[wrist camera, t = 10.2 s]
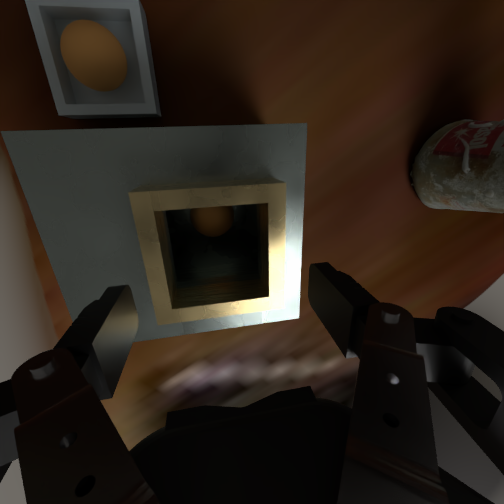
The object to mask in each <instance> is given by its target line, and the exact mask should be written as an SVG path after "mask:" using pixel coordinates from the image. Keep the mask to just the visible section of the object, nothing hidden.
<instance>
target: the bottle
mask: <svg viewBox="0 0 504 504" xmlns="http://www.w3.org/2000/svg"><path fill="white" fill-rule="evenodd" d="M412 166H413V169H412V171H411V173H410V175H411V176H412V179H413V183H412V184H411V185H413V186H414V188H415V191H416V193H417V195H418V197H419V198H420V200H421V201H422V203H423V204H425V205H426V206H428V207H430V208H436V209H454V210H471V211H483V212H496V213H504V120H502V121H500V122H497V121H478V120H466V119H465V120H461V121H457V122H453V123H450V124H448V125H446V126H444V127H442V128H441V129H439V130H438V131H437V132H435V133H434V134H433V135H432V136H431V137H430V138H429V139H428V140H427V141H426V142H425V143H424V145H423V146H422V148H421V149H420V151H419V153H418V154H417V155H416V156H415V162H414V164H412Z"/></svg>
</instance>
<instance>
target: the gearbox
mask: <svg viewBox="0 0 504 504" xmlns="http://www.w3.org/2000/svg"><path fill="white" fill-rule="evenodd" d="M1 134H2V136H3V139H4V141H5V144H6V147H7V149H8V152H9V155H10V157H11V160H12V163H13V165H14V168H15V170H16V173H17V176H18V178H19V181H20V184H21V186H22V189H23V192H24V194H25V197H26V199H27V202H28V205H29V207H30V210H31V213H32V215H33V218H34V221H35V223H36V226H37V228H38V231H39V234H40V236H41V239H42V242H43V244H44V247H45V250H46V252H47V255H48V257H49V260H50V263H51V265H52V268H53V271H54V273H55V276H56V279H57V281H58V284H59V286H60V289H61V292H62V294H63V297H64V300H65V302H66V305H67V308H68V310H69V313H70V315H71V318H72V321H73V322H74V320H75V319H76V318H77V316H78V315H79V314H80V313H81V311H82V310H83V309H84V308H85V307H86V306H87V305H89V304H90V303H92V302H93V301H94V300H99V299H100V297H101V296H102V294H103V293H104V292H105V290H106V289H107V288H108V287H110V286H119V285H129V286H130V288H131V291H132V295H133V299H134V302H135V306H136V310H137V314H138V330H137V333H136V335H135V338H134V341H133V342H137V341H144V340H151V339H158V338H165V337H172V336H179V335H185V334H192V333H199V332H206V331H213V330H220V329H227V328H234V327H240V326H247V325H254V324H261V323H268V322H275V321H282V320H289V319H295V318H299V302H300V279H301V255H302V232H303V209H304V186H305V162H306V139H307V123H298V124H260V125H222V126H184V127H146V128H108V129H70V130H31V131H1ZM231 205H232V208H233V211H234V220H233V223H232V226H231V227H230V229H229V230H228V231H227V232H226V233H224V234H223V235H220V236H217V237H209V236H205V235H203V234H201V233H199V232H198V231H197V230H196V229H195V228H194V226H193V224H192V222H191V218H190V211H191V208H204V207H218V206H231Z"/></svg>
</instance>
